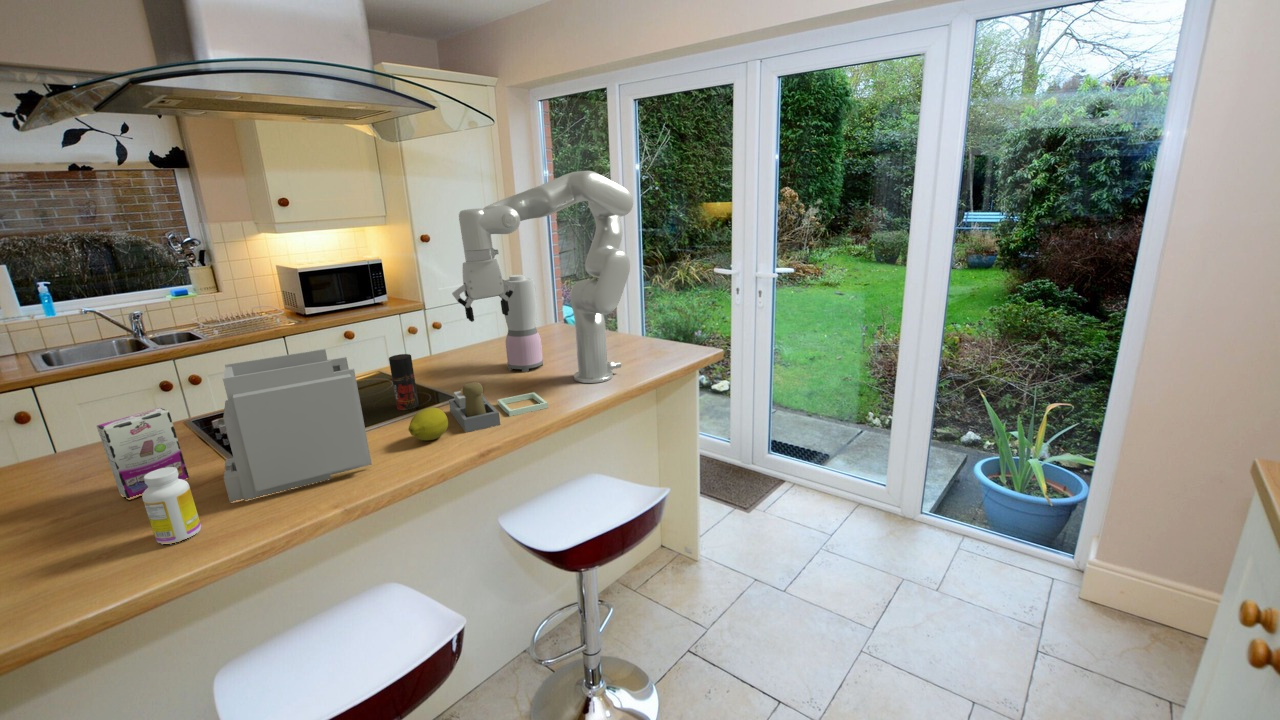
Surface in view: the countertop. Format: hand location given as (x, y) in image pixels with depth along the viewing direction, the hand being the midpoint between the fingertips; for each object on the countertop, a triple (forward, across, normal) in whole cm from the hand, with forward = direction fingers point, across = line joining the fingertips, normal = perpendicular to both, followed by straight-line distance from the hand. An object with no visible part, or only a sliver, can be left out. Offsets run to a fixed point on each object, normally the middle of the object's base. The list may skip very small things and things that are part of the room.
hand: (488, 317), depth 161 cm
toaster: (+24, +50, +19) cm, 59 cm away
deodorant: (+25, +24, -14) cm, 37 cm away
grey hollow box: (+25, +10, +8) cm, 28 cm away
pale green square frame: (+25, -4, +7) cm, 27 cm away
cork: (+25, +11, +12) cm, 30 cm away
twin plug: (+25, +10, +4) cm, 27 cm away
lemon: (+25, +23, +15) cm, 37 cm away
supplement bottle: (+23, +72, +33) cm, 82 cm away
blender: (+26, -20, -30) cm, 45 cm away
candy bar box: (+23, +79, +6) cm, 82 cm away
